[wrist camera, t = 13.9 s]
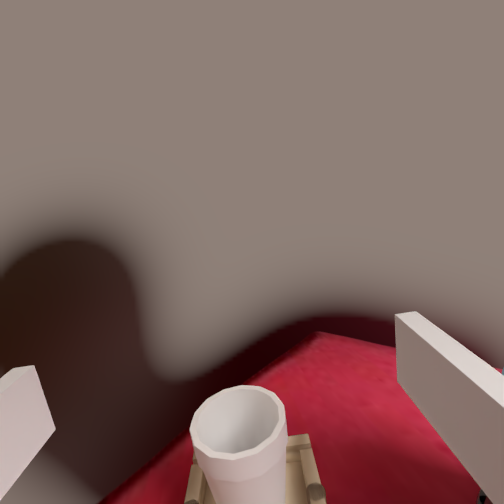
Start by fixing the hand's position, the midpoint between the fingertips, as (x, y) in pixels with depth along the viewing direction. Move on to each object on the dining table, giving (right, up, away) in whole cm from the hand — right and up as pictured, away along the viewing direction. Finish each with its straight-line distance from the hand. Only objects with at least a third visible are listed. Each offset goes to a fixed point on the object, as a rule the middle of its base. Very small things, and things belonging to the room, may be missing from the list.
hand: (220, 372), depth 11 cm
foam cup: (+2, -25, +22) cm, 33 cm away
